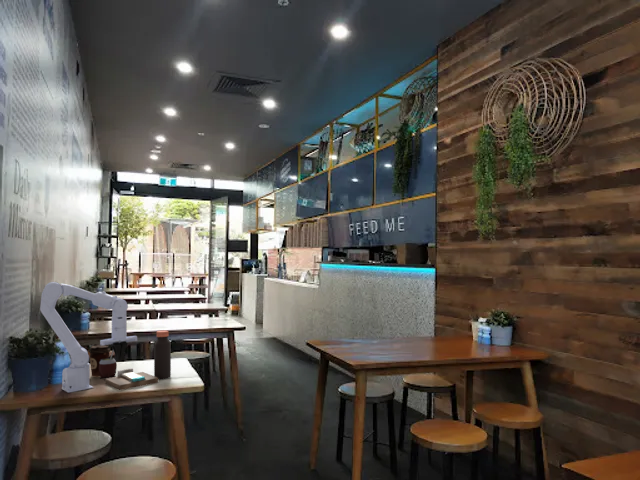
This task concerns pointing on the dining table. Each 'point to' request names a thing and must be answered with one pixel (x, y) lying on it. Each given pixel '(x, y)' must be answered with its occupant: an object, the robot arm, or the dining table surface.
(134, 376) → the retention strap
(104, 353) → the dark brown jar
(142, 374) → the base plate
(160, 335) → the bottle
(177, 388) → the dining table surface
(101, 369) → the mate gourd
